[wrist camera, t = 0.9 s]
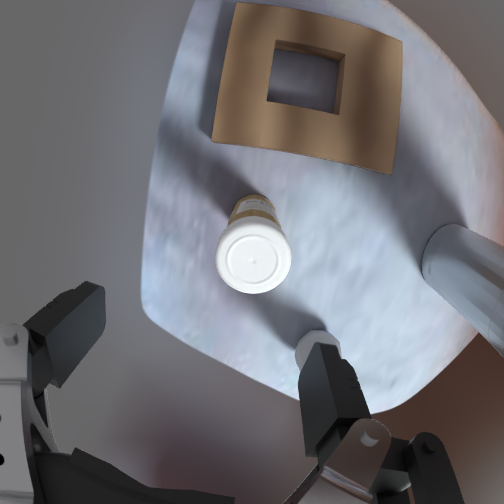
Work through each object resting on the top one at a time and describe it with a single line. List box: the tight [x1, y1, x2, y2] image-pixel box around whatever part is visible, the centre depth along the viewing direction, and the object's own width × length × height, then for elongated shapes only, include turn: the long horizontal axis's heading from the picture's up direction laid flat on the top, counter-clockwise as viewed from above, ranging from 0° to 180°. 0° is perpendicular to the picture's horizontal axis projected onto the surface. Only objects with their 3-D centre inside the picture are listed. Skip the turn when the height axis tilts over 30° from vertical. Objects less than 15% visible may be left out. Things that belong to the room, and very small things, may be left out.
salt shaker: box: [295, 330, 342, 371], centre depth 28 cm, size 6×6×13 cm
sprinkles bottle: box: [215, 195, 291, 294], centre depth 22 cm, size 5×4×13 cm
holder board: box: [211, 2, 402, 175], centre depth 23 cm, size 18×16×2 cm
